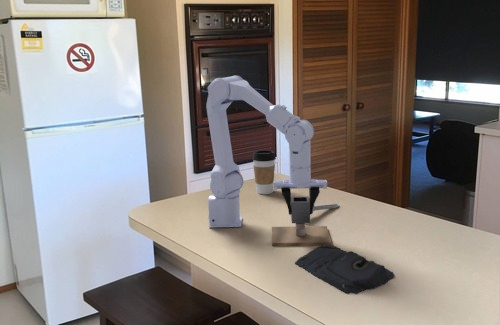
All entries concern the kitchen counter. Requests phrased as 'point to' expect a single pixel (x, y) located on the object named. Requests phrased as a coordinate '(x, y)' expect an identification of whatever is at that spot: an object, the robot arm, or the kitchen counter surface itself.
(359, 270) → the dark slate chunk
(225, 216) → the robot arm
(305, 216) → the steel collar
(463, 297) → the kitchen counter surface
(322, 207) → the caliper
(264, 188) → the coffee cup
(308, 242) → the post base
